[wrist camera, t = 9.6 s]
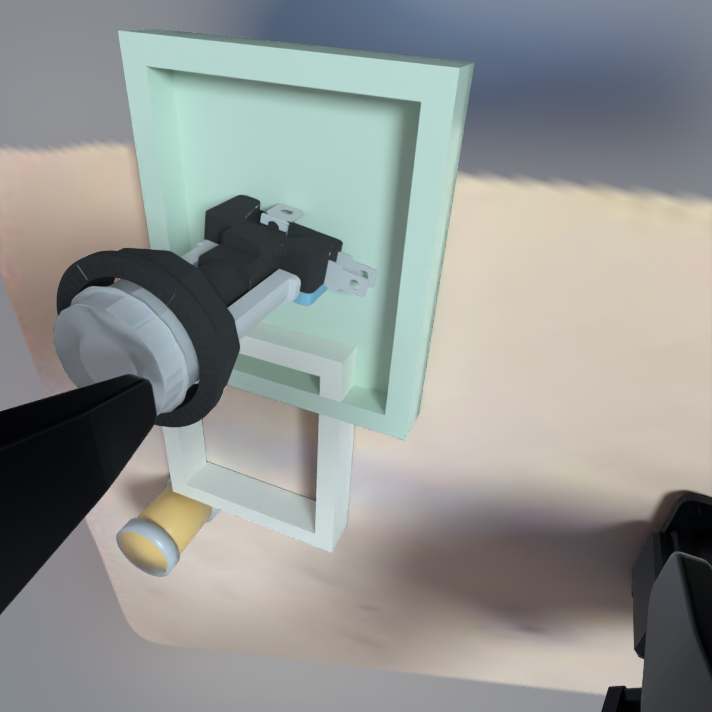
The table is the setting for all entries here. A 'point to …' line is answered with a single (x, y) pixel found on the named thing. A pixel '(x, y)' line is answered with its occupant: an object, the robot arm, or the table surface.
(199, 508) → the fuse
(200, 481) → the pale rectangular frame
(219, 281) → the push button
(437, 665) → the table surface
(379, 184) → the parts tray
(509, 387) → the table surface
